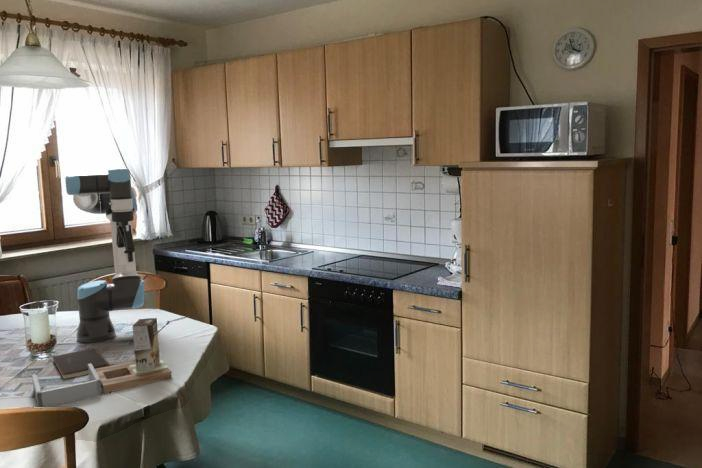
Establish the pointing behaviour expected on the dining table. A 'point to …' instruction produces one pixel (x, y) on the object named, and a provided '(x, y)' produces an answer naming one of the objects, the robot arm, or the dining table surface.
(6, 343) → the dining table surface
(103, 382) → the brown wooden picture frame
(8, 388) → the dining table surface
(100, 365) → the hardcover book
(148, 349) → the coffee box
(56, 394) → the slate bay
